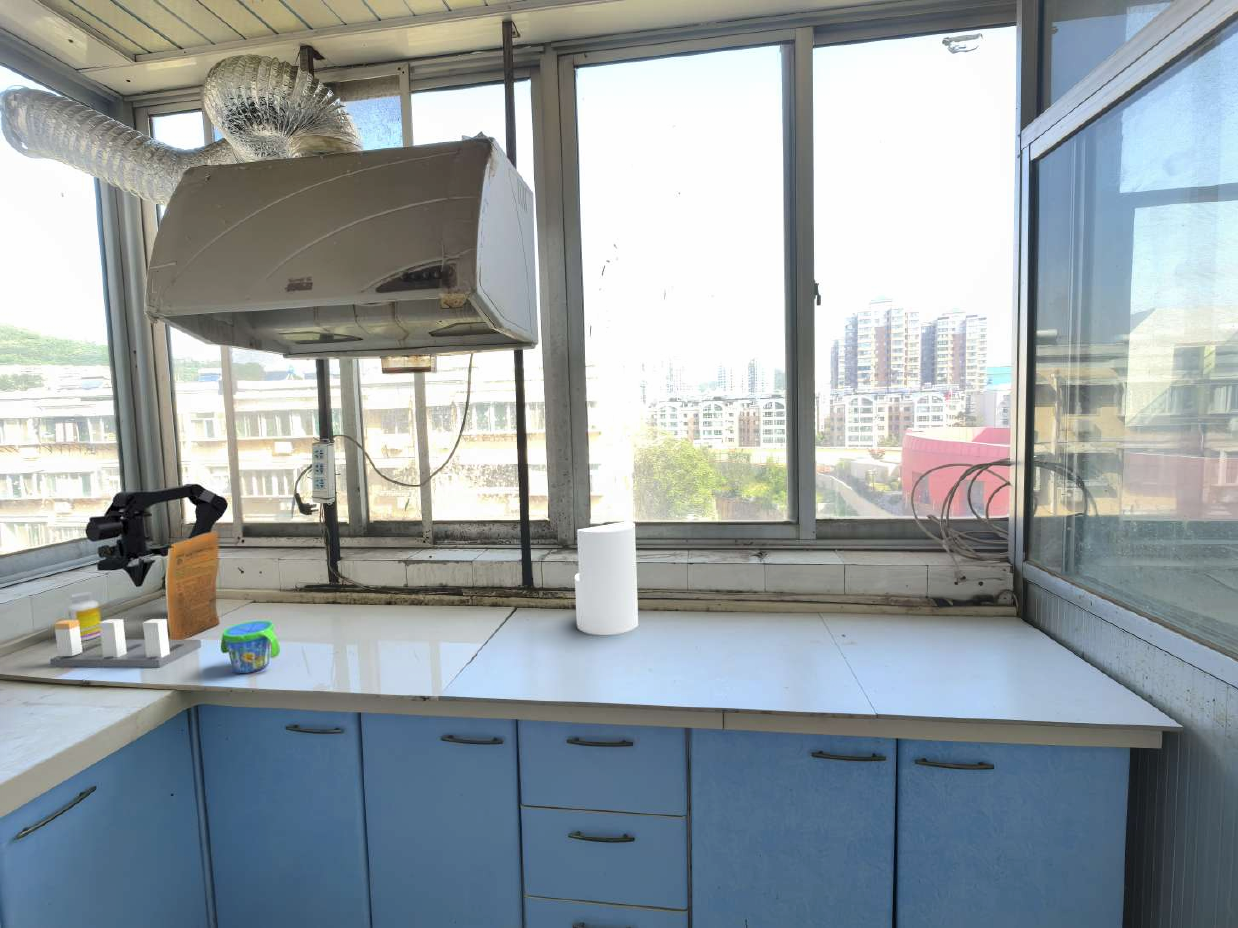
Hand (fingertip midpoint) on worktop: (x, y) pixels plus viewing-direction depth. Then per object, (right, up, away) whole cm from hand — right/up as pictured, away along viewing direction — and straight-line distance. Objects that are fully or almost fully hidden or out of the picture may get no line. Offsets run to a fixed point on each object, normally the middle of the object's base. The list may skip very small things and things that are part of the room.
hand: (138, 586), depth 175 cm
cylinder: (+138, -9, -8) cm, 139 cm away
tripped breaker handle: (+1, -13, -23) cm, 26 cm away
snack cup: (+52, -14, -30) cm, 61 cm away
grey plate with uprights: (+13, -14, -19) cm, 27 cm away
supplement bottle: (-11, -14, -4) cm, 19 cm away
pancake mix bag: (+19, -13, -2) cm, 23 cm away
